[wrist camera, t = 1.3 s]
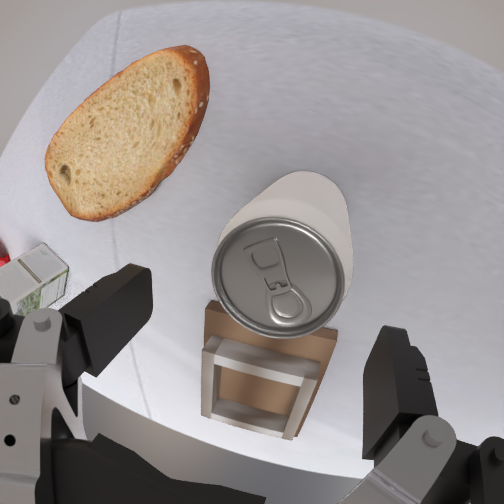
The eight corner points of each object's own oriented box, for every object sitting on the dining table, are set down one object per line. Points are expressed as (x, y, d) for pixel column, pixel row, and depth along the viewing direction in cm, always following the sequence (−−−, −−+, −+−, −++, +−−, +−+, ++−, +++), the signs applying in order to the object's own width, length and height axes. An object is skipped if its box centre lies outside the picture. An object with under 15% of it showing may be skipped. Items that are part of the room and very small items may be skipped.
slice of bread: (222, 47, 20) (203, 35, 17) (185, 249, 28) (165, 265, 24) (72, 52, 23) (47, 49, 20) (57, 205, 30) (34, 214, 27)
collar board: (337, 330, 26) (335, 359, 23) (299, 427, 33) (293, 453, 29) (211, 300, 28) (193, 323, 25) (206, 402, 35) (194, 425, 31)
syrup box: (43, 241, 33) (-42, 288, 20) (71, 267, 33) (-17, 326, 20) (40, 271, 35) (-35, 320, 23) (65, 297, 35) (-10, 355, 22)
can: (283, 261, 25) (240, 357, 14) (251, 188, 24) (176, 238, 13) (358, 236, 23) (372, 327, 12) (328, 157, 21) (322, 180, 10)
